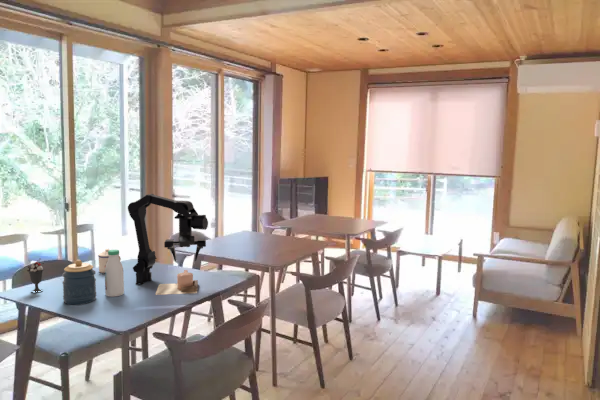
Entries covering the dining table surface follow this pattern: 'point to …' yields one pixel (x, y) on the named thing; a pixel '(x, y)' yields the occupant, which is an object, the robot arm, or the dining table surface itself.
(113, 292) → the milk bottle
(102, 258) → the teacup with lid
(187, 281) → the peach dome with handle
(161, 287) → the cradle
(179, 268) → the dining table surface
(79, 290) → the canister
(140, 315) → the dining table surface
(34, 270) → the sundae
